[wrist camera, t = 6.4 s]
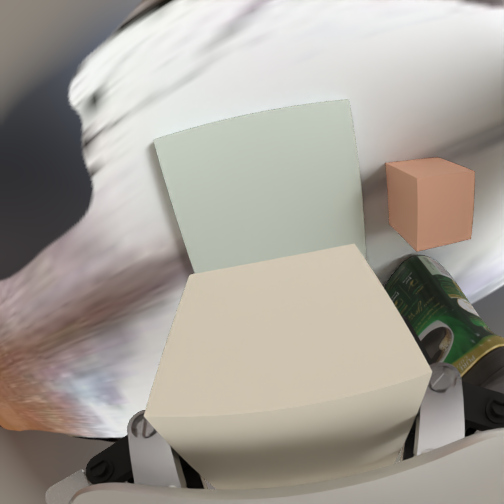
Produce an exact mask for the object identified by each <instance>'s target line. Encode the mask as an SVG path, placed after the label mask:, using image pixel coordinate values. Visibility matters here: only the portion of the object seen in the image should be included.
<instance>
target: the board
mask: <svg viewBox="0 0 504 504" xmlns="http://www.w3.org/2000/svg"><path fill="white" fill-rule="evenodd" d="M153 141H154V145H155V148H156V152H157V156H158V159H159V163H160V166H161V170H162V173H163V176H164V180H165V183H166V187H167V190H168V193H169V197H170V200H171V203H172V206H173V209H174V213H175V216H176V219H177V222H178V225H179V228H180V231H181V234H182V237H183V241H184V244H185V247H186V249H187V252H188V255H189V258H190V261H191V264H192V267H193V270H194V273H195V274H196V273H202V272H207V271H212V270H218V269H223V268H229V267H234V266H240V265H245V264H250V263H256V262H261V261H266V260H271V259H277V258H282V257H287V256H293V255H298V254H303V253H308V252H313V251H318V250H324V249H329V248H334V247H339V246H344V245H349V244H354V243H355V245H356V246H357V248H358V249H359V251H360V252H361V254H362V255H363V257H364V258H365V260H366V245H365V226H364V212H363V199H362V189H361V179H360V170H359V162H358V154H357V146H356V139H355V133H354V126H353V120H352V114H351V109H350V103H349V99H345V100H335V101H326V102H318V103H311V104H304V105H297V106H291V107H284V108H279V109H273V110H267V111H262V112H257V113H252V114H247V115H243V116H238V117H234V118H229V119H225V120H221V121H217V122H213V123H209V124H205V125H201V126H197V127H194V128H190V129H187V130H183V131H180V132H176V133H173V134H170V135H166V136H163V137H160V138H157V139H154V140H153Z"/></svg>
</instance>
